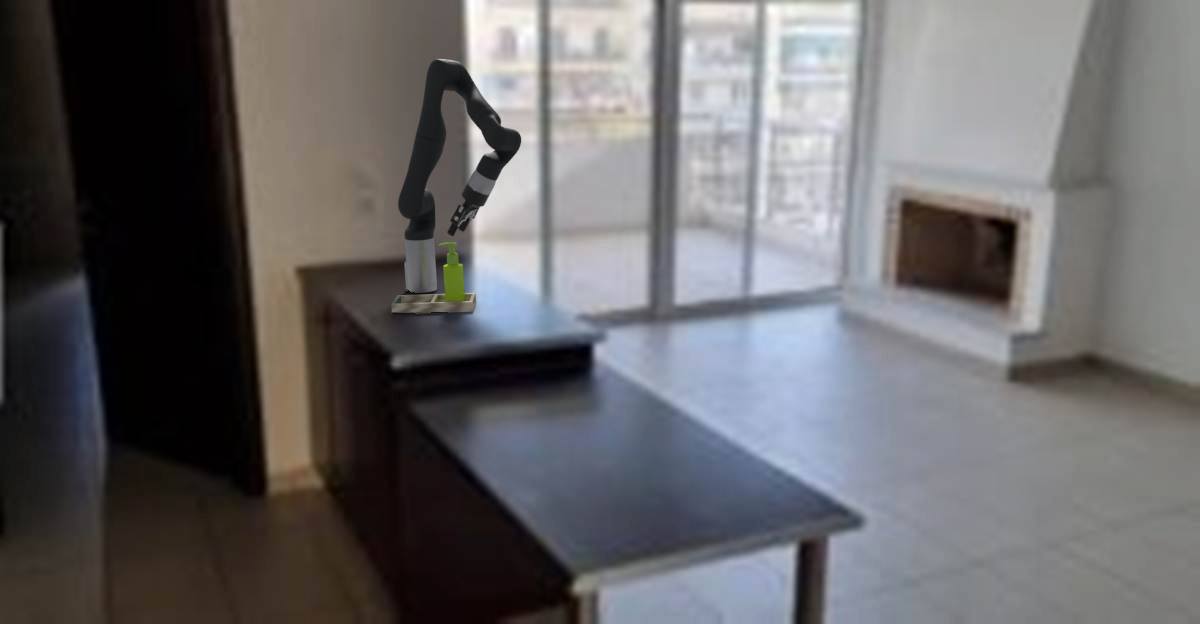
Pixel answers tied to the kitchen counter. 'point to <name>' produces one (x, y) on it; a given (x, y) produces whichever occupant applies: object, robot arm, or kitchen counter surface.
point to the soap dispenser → (453, 276)
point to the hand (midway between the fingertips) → (455, 232)
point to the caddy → (432, 303)
